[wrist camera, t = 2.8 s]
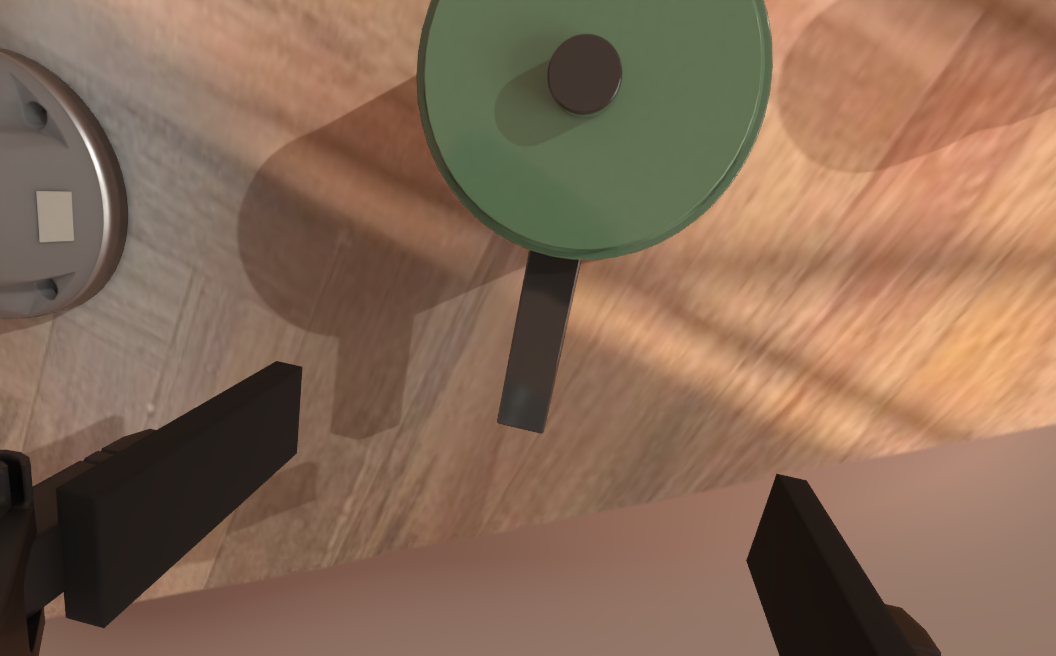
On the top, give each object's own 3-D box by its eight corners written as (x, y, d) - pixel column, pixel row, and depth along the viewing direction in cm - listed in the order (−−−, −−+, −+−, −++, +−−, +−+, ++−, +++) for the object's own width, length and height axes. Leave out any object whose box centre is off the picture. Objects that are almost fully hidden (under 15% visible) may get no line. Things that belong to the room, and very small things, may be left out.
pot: (439, 344, 31) (353, 433, 21) (497, -45, 26) (420, -193, 15) (645, 390, 30) (664, 508, 20) (750, -3, 25) (855, -128, 14)
